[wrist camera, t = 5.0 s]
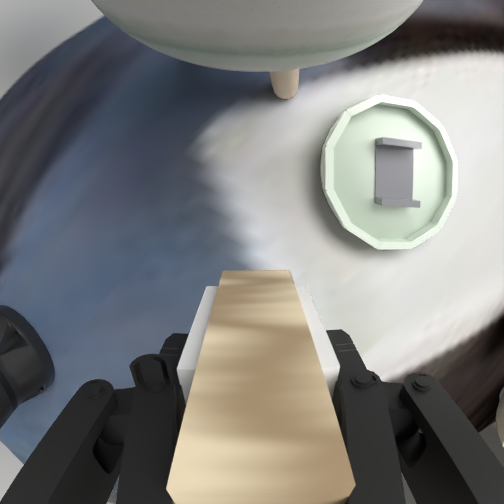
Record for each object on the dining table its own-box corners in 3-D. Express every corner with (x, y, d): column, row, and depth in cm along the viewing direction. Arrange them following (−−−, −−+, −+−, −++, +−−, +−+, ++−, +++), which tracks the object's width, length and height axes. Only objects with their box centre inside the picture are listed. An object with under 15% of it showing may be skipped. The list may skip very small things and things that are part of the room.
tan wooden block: (226, 328, 16) (196, 534, 5) (222, 271, 15) (165, 489, 4) (287, 326, 16) (324, 532, 5) (289, 269, 15) (355, 485, 4)
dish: (318, 244, 26) (324, 252, 24) (318, 92, 23) (324, 85, 20) (441, 244, 26) (454, 250, 24) (445, 112, 22) (459, 110, 20)
